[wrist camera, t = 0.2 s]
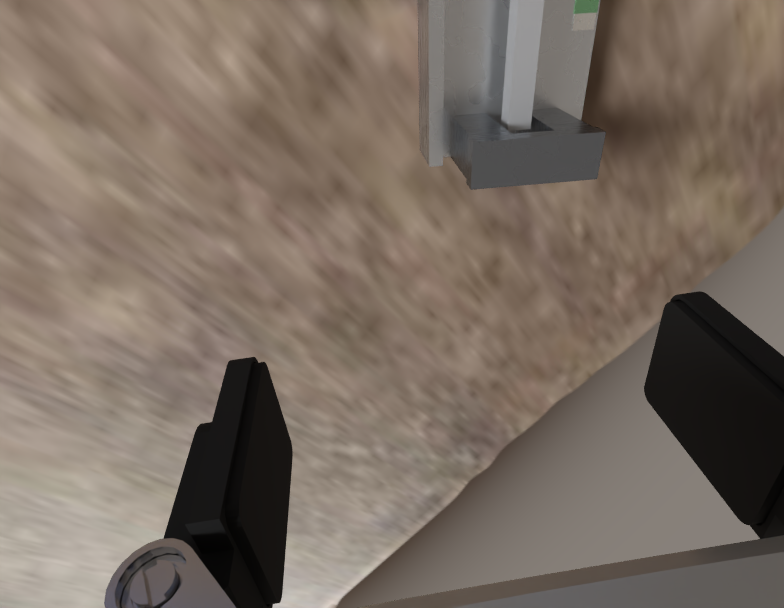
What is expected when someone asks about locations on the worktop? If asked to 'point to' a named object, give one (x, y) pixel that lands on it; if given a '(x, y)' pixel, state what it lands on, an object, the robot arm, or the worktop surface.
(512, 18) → the plunger
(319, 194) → the worktop surface
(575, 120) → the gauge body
